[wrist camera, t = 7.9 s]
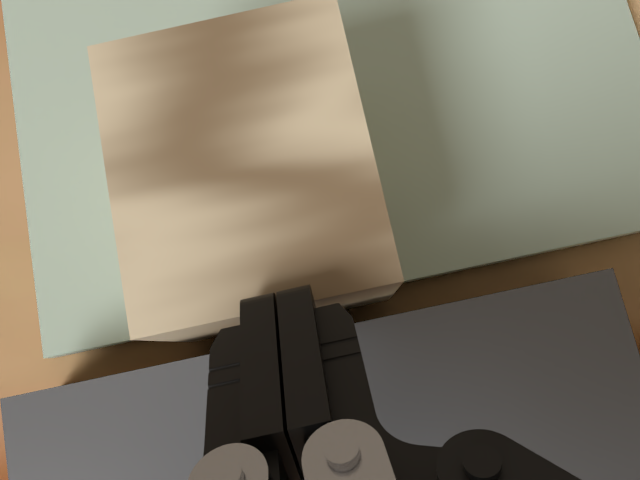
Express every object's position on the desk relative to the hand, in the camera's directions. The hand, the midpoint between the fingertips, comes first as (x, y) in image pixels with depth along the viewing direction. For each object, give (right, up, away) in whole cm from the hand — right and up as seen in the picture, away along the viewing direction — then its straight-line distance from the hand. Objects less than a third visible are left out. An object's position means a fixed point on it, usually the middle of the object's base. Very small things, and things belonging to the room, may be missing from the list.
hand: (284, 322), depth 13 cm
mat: (+1, +8, +7) cm, 11 cm away
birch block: (0, 0, +2) cm, 2 cm away
